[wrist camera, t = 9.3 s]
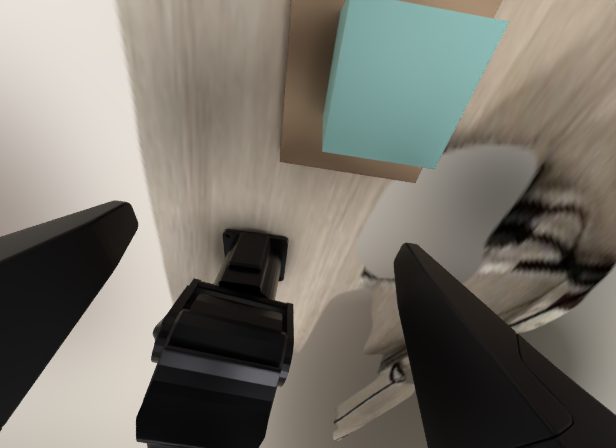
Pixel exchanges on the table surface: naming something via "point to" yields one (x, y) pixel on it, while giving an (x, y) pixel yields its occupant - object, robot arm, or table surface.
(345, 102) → the teal block
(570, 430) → the robot arm
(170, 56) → the table surface
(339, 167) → the base plinth
